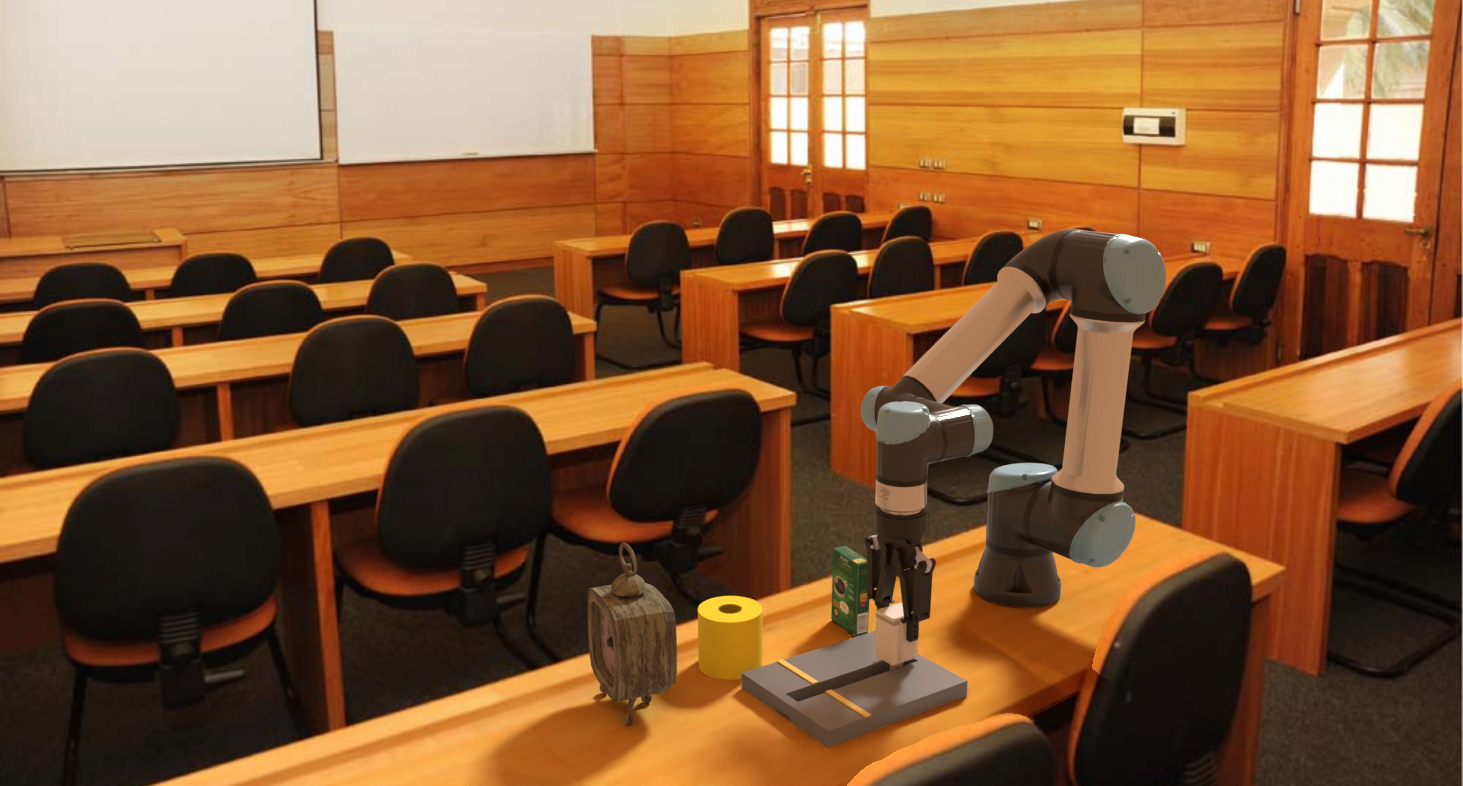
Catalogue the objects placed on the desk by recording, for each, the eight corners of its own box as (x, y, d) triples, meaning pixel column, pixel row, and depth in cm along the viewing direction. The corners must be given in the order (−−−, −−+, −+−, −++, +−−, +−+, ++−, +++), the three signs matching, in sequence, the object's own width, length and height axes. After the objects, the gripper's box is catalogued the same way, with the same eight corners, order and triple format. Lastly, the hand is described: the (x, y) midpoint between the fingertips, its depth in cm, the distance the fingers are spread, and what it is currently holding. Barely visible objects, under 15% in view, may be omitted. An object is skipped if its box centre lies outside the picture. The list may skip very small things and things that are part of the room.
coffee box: (870, 635, 208) (872, 560, 205) (855, 638, 207) (857, 563, 203) (844, 617, 215) (846, 544, 212) (830, 620, 214) (831, 547, 210)
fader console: (874, 645, 204) (875, 629, 204) (966, 696, 187) (967, 679, 187) (741, 688, 190) (741, 671, 189) (828, 747, 173) (828, 729, 173)
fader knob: (899, 663, 196) (901, 602, 194) (917, 673, 193) (919, 611, 190) (874, 672, 193) (875, 610, 191) (892, 682, 190) (893, 619, 187)
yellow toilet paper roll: (772, 657, 200) (772, 602, 198) (746, 684, 191) (746, 627, 189) (715, 646, 204) (715, 591, 202) (687, 672, 195) (686, 615, 193)
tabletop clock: (589, 690, 190) (584, 533, 184) (646, 678, 193) (643, 524, 187) (620, 734, 177) (615, 567, 171) (680, 721, 180) (678, 557, 174)
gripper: (843, 496, 191) (841, 638, 197) (921, 528, 178) (916, 681, 183) (881, 487, 195) (878, 627, 201) (960, 518, 182) (954, 667, 187)
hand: (896, 652), depth 192 cm, fingers closed on fader knob, 4 cm apart
